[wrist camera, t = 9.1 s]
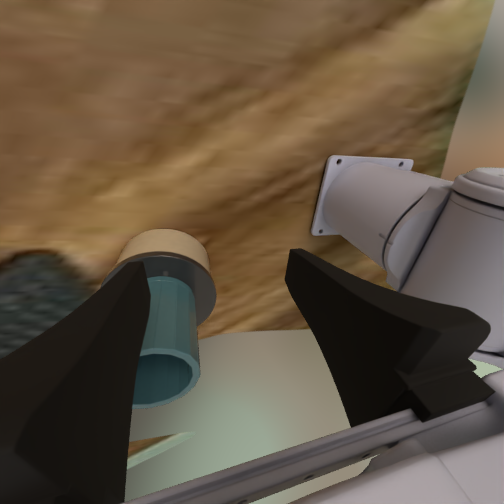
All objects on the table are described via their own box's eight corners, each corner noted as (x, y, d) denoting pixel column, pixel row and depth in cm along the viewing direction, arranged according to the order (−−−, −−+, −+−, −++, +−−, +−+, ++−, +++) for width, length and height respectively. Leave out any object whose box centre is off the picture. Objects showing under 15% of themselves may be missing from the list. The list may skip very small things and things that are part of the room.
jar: (210, 224, 21) (215, 252, 17) (212, 294, 25) (217, 329, 21) (105, 228, 19) (81, 260, 14) (128, 303, 23) (115, 344, 19)
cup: (192, 272, 17) (196, 340, 12) (197, 320, 20) (202, 395, 14) (116, 280, 16) (80, 361, 10) (132, 331, 18) (110, 418, 13)
